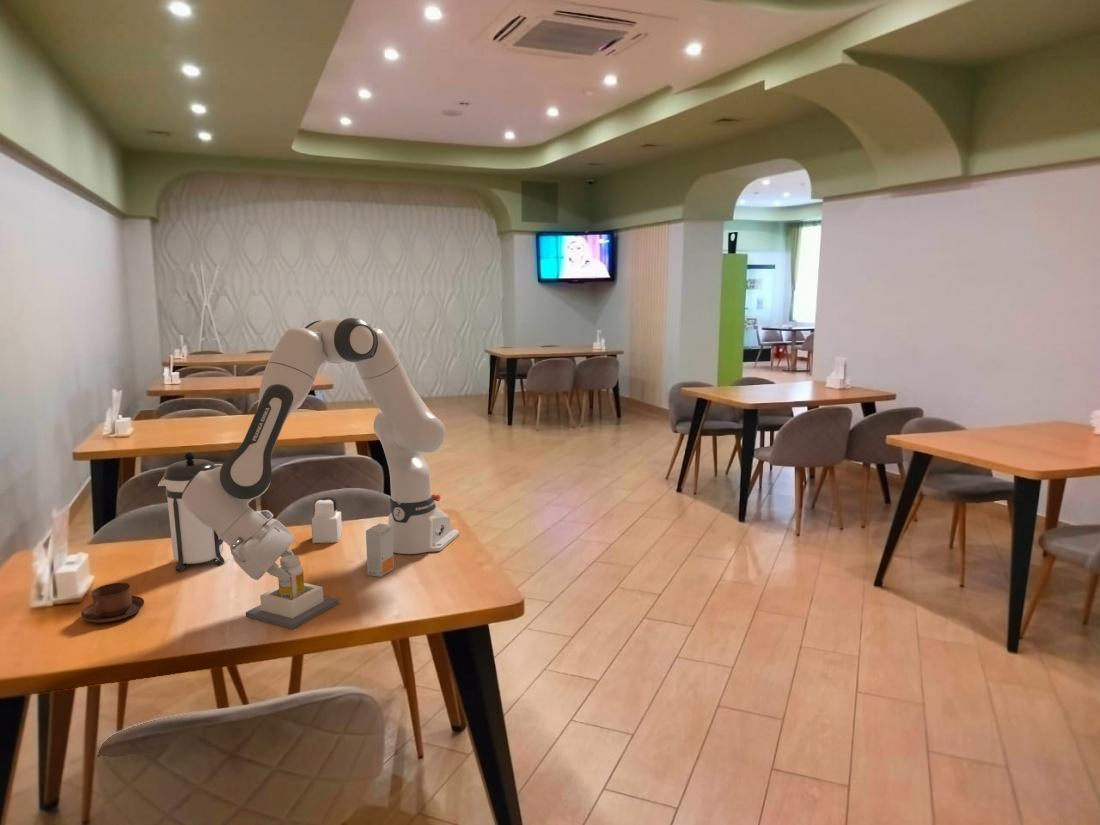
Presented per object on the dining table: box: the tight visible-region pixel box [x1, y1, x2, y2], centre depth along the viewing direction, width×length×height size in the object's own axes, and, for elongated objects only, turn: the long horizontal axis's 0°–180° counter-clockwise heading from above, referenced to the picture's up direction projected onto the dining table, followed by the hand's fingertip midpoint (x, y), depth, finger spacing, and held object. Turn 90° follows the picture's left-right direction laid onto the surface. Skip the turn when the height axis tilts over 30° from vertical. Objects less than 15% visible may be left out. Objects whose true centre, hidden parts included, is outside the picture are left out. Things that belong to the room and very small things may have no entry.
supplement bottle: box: [277, 554, 305, 600], centre depth 160 cm, size 5×5×10 cm
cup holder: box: [245, 582, 339, 630], centre depth 161 cm, size 14×14×4 cm
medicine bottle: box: [310, 496, 343, 544], centre depth 206 cm, size 7×7×12 cm
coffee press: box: [157, 451, 225, 573], centre depth 188 cm, size 17×16×30 cm
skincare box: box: [365, 522, 395, 578], centre depth 181 cm, size 6×4×12 cm
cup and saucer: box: [81, 582, 145, 624], centre depth 158 cm, size 12×12×6 cm
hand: (293, 572), depth 160 cm, fingers closed on supplement bottle, 5 cm apart
